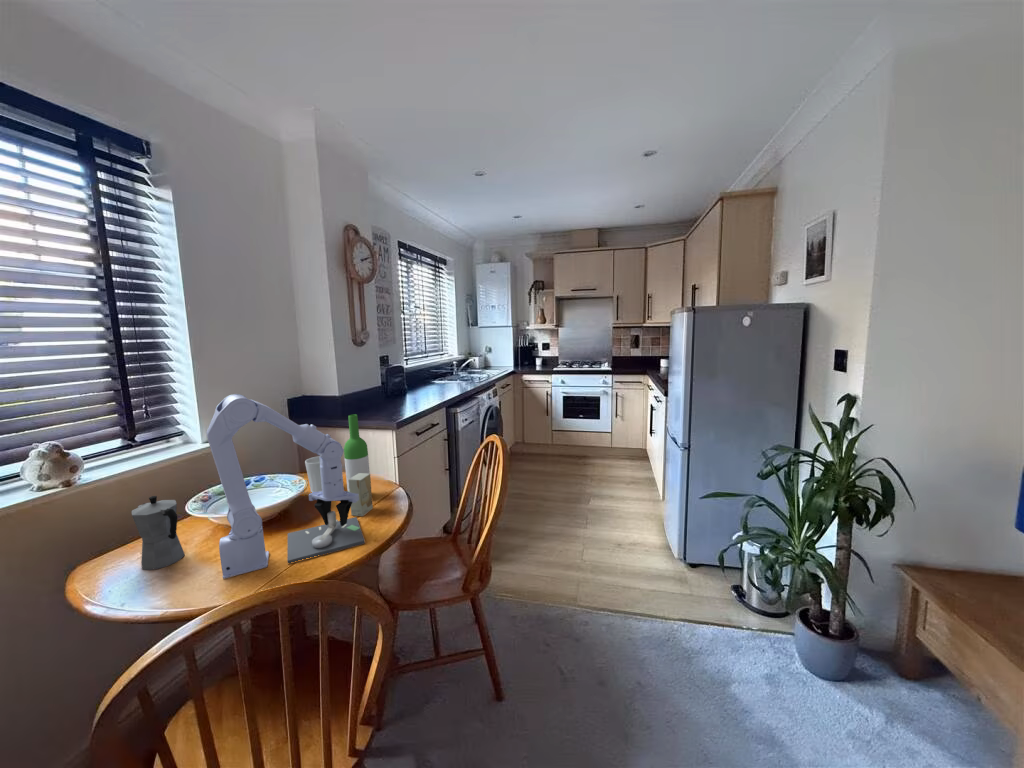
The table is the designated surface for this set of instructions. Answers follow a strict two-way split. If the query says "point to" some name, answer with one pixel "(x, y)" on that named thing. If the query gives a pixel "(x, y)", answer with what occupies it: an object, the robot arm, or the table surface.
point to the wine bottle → (355, 451)
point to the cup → (314, 474)
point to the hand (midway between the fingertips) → (336, 523)
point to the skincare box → (361, 494)
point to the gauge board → (341, 535)
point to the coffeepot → (158, 533)
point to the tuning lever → (326, 532)
